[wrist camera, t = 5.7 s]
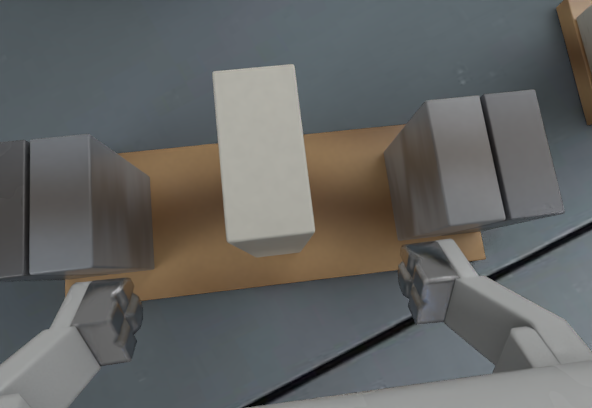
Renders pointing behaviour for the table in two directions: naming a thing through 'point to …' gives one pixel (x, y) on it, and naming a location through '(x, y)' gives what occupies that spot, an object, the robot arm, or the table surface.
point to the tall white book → (263, 160)
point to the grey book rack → (324, 194)
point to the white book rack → (579, 47)
